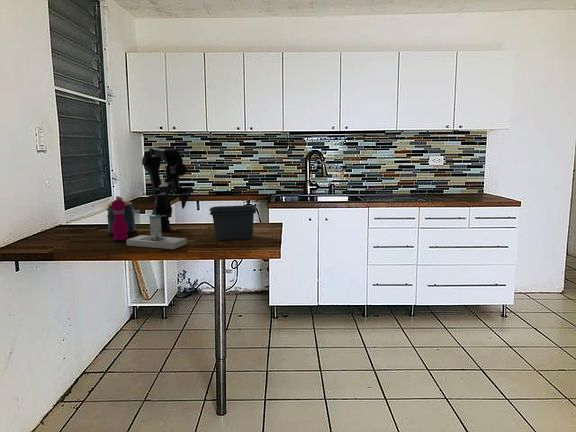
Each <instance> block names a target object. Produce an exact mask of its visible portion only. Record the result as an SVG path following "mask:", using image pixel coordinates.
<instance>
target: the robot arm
mask: <svg viewBox="0 0 576 432" xmlns="http://www.w3.org/2000/svg"><path fill="white" fill-rule="evenodd" d="M183 160H184V159H183V158H182V156H181V153H180V151H179V150H178V149H177V148H174V149H173V148H171V149H170V148H168V149H165V148H161V147H159V146H155V147H154V146H153V147H149V149H148V151H146V152H145V153H144V155H143V156H142V159H141V164H142V166H143V168H144V171H146V172H147V174H148V175H149V179H150V183H151V188H152V191H153V196H154V202H153V203H154V204H153V209H152V212H151V215H160V216H161V232H165V231H168V230H171V229H172V227H171V222H170V218H172V216H173V207H172V204H171V201H170V199H169V193H172V194H174V193H180V194H179V197H180V201H181V203H180V204H181V209H183V210H184V209H185V207H186V205H187V201H188V200H189V197H190V195H192V194H194V188H193V186H183V187H182V186H181V185H180V180H181V177H182V176H183V177H184V175H186V174H187V172H188V168H187V167H186V165H185V164H184V161H183ZM162 161H163V162H164V167H165V178H164V182H163V183H162V180H161V176H160V172H159V170H160V169H161V168H160V167H161V162H162Z"/></svg>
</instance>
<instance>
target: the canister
mask: <svg viewBox="0 0 576 432" xmlns="http://www.w3.org/2000/svg"><path fill="white" fill-rule="evenodd" d="M119 197H120V199H119V200H123V201H124V202H125V208H124V212H125V213H124V219H125V222H126V224H127V226H128V232H127V233H126V234H130V233H133V232H134V233H135V231H136V223H135V222H136V221H135V213H134V209H135V207H134V206H132V205H133V202H131V201H130V200H126V199H125V200H124V199H123V197H121V196H119ZM113 201H114V200H113ZM113 201H110V202H109V203H108V204H107V206H108V207H107V208H106V211H107V216H106V217H107V226H108V227H107V231H108V233H109V234H113V235H115V234H114V233H113V232H112V226H113V223H114V217H115V216H114V213H113V210H114V209H113V208H112V206H111V204H112V202H113Z"/></svg>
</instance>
